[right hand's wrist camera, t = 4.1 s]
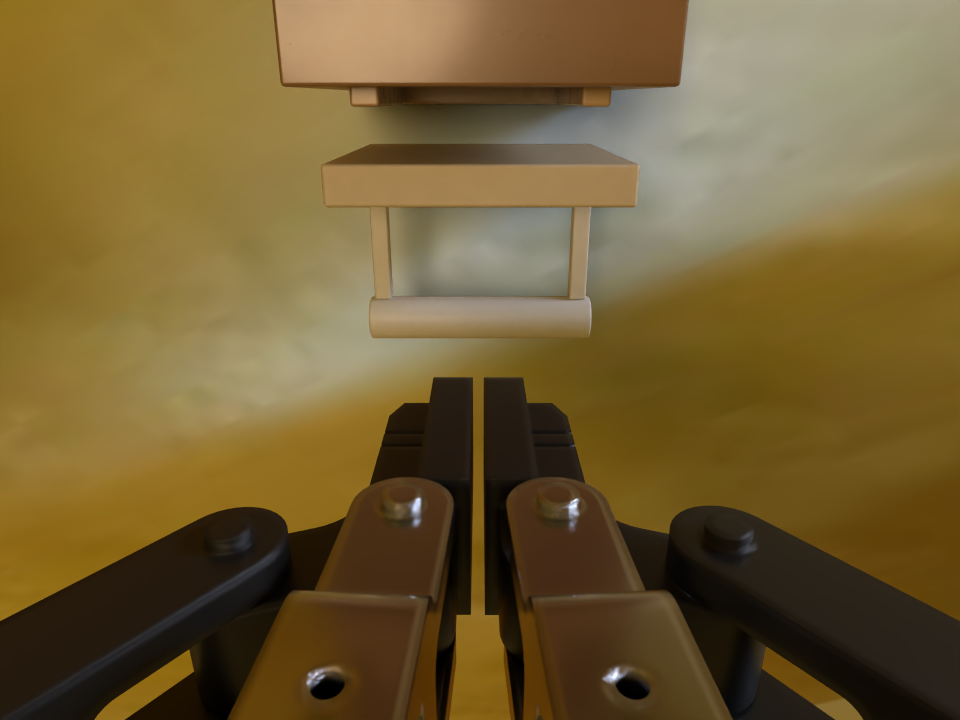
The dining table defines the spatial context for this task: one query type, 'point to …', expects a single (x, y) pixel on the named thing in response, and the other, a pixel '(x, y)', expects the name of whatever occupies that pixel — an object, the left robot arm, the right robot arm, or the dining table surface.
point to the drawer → (480, 183)
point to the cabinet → (480, 43)
